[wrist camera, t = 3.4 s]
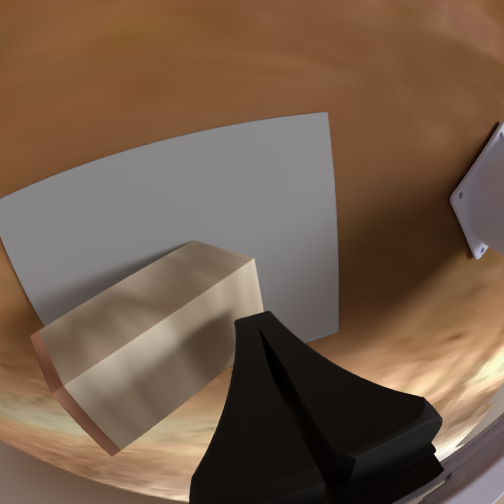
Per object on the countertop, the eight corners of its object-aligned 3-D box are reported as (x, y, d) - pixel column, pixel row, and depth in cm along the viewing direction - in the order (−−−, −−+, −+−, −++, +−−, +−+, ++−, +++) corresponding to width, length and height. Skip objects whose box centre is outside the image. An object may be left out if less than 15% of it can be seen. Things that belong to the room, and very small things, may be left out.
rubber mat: (322, 111, 14) (327, 112, 14) (335, 327, 20) (338, 332, 20) (-7, 201, 12) (-12, 204, 11) (89, 386, 18) (88, 392, 18)
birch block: (254, 258, 12) (51, 394, 7) (267, 332, 14) (111, 456, 9) (193, 240, 15) (29, 336, 9) (211, 305, 17) (75, 399, 11)
